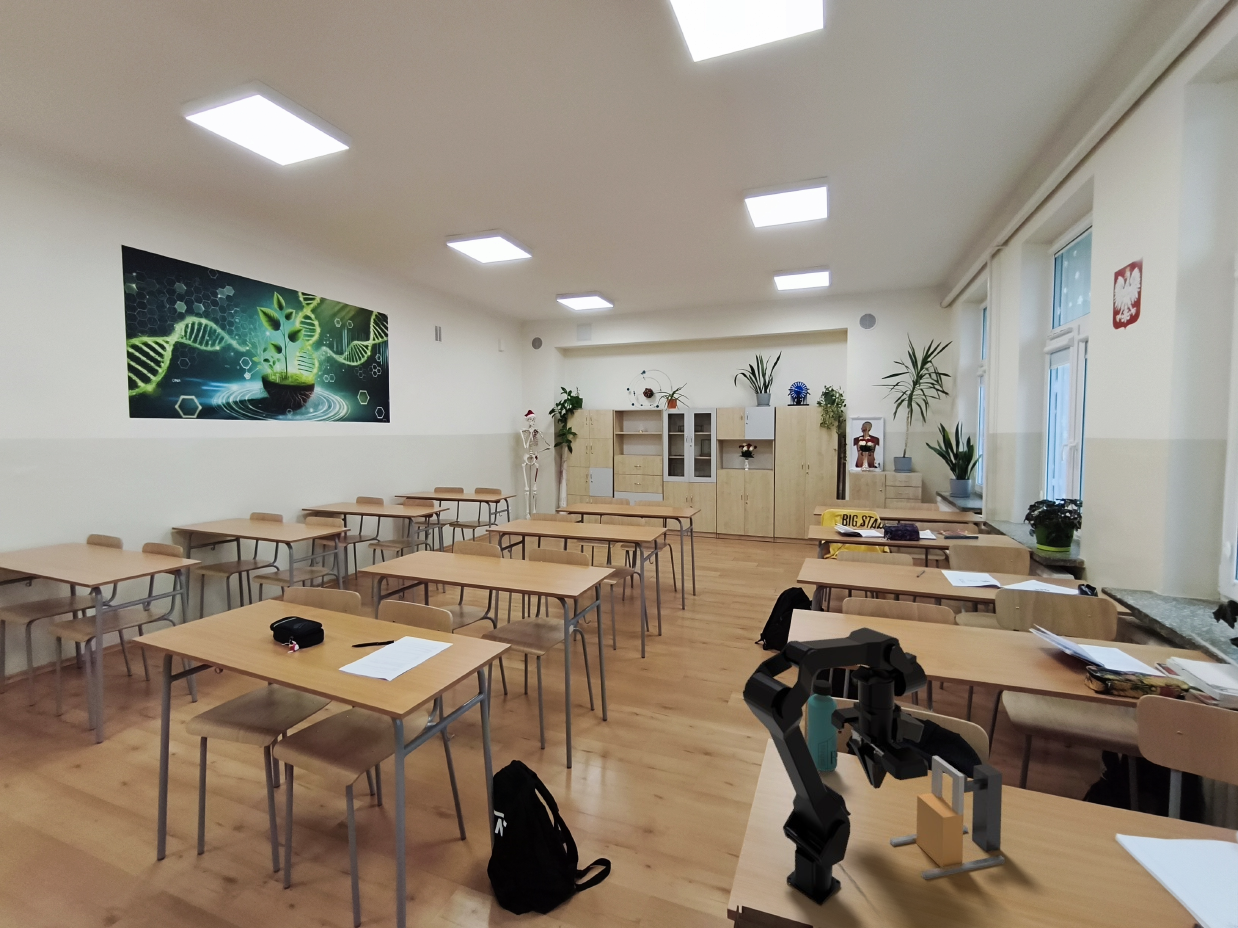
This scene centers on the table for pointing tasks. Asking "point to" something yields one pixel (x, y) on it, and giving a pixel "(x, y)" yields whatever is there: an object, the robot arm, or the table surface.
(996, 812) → the grey stand with block
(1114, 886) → the table surface
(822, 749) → the beverage bottle
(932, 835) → the orange padlock
